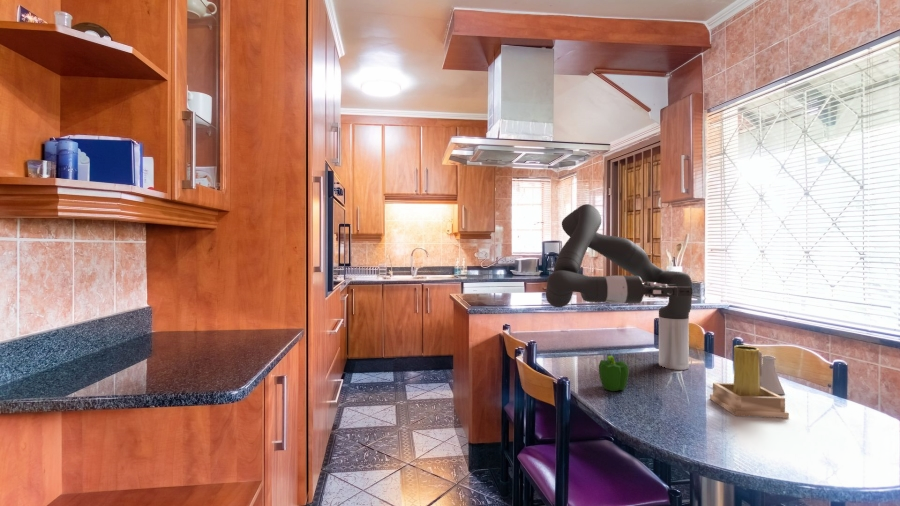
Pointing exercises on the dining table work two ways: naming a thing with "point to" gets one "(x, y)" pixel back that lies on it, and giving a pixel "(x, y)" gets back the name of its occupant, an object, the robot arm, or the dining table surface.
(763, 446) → the dining table surface
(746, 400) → the stand
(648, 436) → the dining table surface
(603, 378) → the bell pepper
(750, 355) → the vase
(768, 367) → the flask
